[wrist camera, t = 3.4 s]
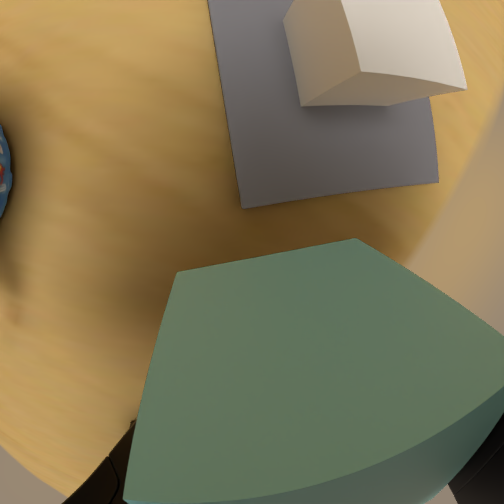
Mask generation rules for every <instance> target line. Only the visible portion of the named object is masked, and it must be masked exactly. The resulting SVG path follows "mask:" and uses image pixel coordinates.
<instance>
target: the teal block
mask: <svg viewBox="0 0 504 504" xmlns="http://www.w3.org/2000/svg"><path fill="white" fill-rule="evenodd" d="M503 413H504V336H503V335H502V334H500V333H499V332H498V331H496V330H495V329H494V328H492V327H491V326H490V325H488V324H487V323H486V322H484V321H483V320H482V319H480V318H479V317H477V316H476V315H475V314H473V313H472V312H471V311H469V310H468V309H466V308H465V307H464V306H462V305H461V304H459V303H458V302H456V301H455V300H453V299H452V298H451V297H449V296H448V295H446V294H445V293H443V292H442V291H440V290H439V289H437V288H436V287H434V286H433V285H431V284H430V283H428V282H427V281H425V280H424V279H422V278H420V277H419V276H417V275H416V274H414V273H413V272H411V271H410V270H408V269H406V268H405V267H403V266H402V265H400V264H398V263H397V262H395V261H394V260H392V259H390V258H389V257H387V256H385V255H384V254H382V253H381V252H379V251H377V250H376V249H374V248H372V247H371V246H369V245H367V244H365V243H364V242H362V241H360V240H359V239H357V238H353V239H348V240H343V241H338V242H332V243H327V244H322V245H317V246H312V247H307V248H301V249H296V250H291V251H286V252H281V253H275V254H270V255H265V256H260V257H254V258H249V259H244V260H239V261H233V262H228V263H223V264H217V265H212V266H207V267H201V268H196V269H191V270H185V271H180V272H177V274H176V277H175V280H174V283H173V286H172V289H171V292H170V296H169V299H168V302H167V305H166V309H165V312H164V316H163V319H162V322H161V326H160V329H159V333H158V336H157V340H156V344H155V347H154V351H153V355H152V359H151V362H150V366H149V370H148V374H147V378H146V382H145V386H144V390H143V395H142V399H141V403H140V408H139V412H138V417H137V421H136V426H135V431H134V436H133V441H132V446H131V451H130V457H129V462H128V468H127V474H126V480H125V487H124V493H123V500H124V501H126V502H127V503H128V504H424V503H426V502H427V501H429V500H431V499H432V498H434V497H435V496H436V495H437V494H438V493H439V492H440V491H441V490H442V489H443V488H444V487H445V486H446V485H447V484H448V483H449V482H450V481H451V480H452V479H453V477H454V476H455V475H456V474H457V473H458V472H459V471H460V470H461V469H462V468H463V466H464V465H465V464H466V463H467V462H468V461H469V459H470V458H471V457H472V456H473V454H474V453H475V452H476V451H477V449H478V448H479V447H480V446H481V444H482V443H483V442H484V440H485V439H486V438H487V436H488V435H489V434H490V432H491V431H492V429H493V428H494V426H495V425H496V423H497V422H498V420H499V419H500V417H501V416H502V414H503Z"/></svg>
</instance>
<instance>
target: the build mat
mask: <svg viewBox="0 0 504 504" xmlns="http://www.w3.org/2000/svg"><path fill="white" fill-rule="evenodd" d="M293 1H294V0H208V7H209V13H210V19H211V25H212V32H213V38H214V44H215V50H216V56H217V62H218V69H219V75H220V81H221V87H222V93H223V99H224V105H225V111H226V117H227V124H228V130H229V136H230V142H231V148H232V154H233V160H234V166H235V172H236V178H237V184H238V190H239V196H240V202H241V207H242V209H247V208H253V207H258V206H264V205H270V204H276V203H282V202H288V201H295V200H301V199H308V198H314V197H321V196H328V195H335V194H342V193H350V192H357V191H365V190H373V189H382V188H390V187H399V186H408V185H418V184H428V183H439V177H438V161H437V150H436V141H435V132H434V125H433V118H432V112H431V106H430V100H429V97H425V98H420V99H415V100H411V101H406V102H402V103H398V104H394V105H390V106H372V105H324V106H302V107H301V105H300V99H299V94H298V88H297V83H296V78H295V73H294V68H293V63H292V59H291V54H290V49H289V45H288V41H287V36H286V32H285V28H284V24H283V19H284V17H285V15H286V13H287V12H288V10H289V8H290V6H291V4H292V3H293Z"/></svg>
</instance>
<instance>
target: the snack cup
mask: <svg viewBox="0 0 504 504" xmlns="http://www.w3.org/2000/svg"><path fill="white" fill-rule="evenodd" d="M11 186H12V173H11V171H10V151H9V148H8V144H7V141H6V139H5V137H4V135H3V130H2V126H1V125H0V217H1V215H2V213H3V211H4V208H5V205H6V203H7V196H8V192H9V190H10V189H11Z"/></svg>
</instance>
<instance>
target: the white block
mask: <svg viewBox="0 0 504 504" xmlns="http://www.w3.org/2000/svg"><path fill="white" fill-rule="evenodd" d="M283 24H284V28H285V32H286V36H287V41H288V45H289V49H290V54H291V59H292V63H293V68H294V73H295V78H296V83H297V88H298V94H299V99H300V105H301V107H302V106H324V105H372V106H390V105H394V104H398V103H402V102H406V101H411V100H415V99H420V98H425V97H429V96H435V95H440V94H445V93H451V92H457V91H463V90H468V89H467V85H466V80H465V76H464V72H463V68H462V65H461V61H460V57H459V54H458V51H457V47H456V44H455V41H454V38H453V35H452V32H451V29H450V27H449V24H448V21H447V19H446V16H445V14H444V11H443V9H442V6H441V4H440V2H439V0H294V1H293V3H292V4H291V6H290V8H289V10H288V12H287V13H286V15H285V17H284V19H283Z"/></svg>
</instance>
